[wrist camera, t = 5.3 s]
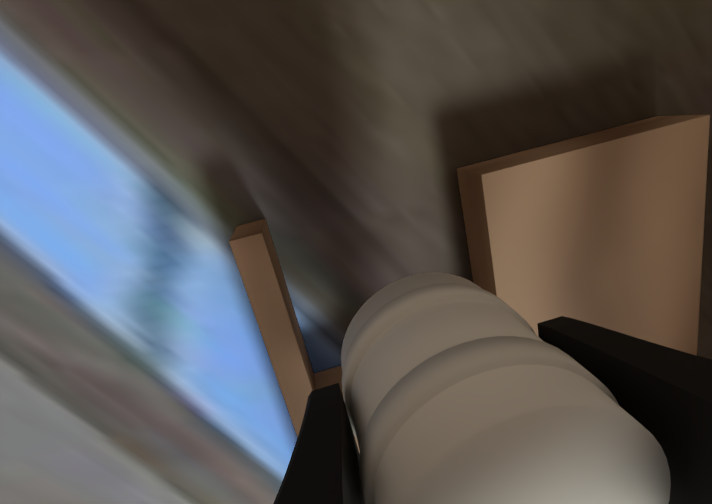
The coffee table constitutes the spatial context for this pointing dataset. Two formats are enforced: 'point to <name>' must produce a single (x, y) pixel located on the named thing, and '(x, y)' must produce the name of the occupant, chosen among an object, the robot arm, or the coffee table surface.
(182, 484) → the coffee table surface
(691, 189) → the shelf board
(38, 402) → the coffee table surface
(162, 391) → the coffee table surface
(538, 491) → the ribbed cream cylinder
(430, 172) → the coffee table surface
